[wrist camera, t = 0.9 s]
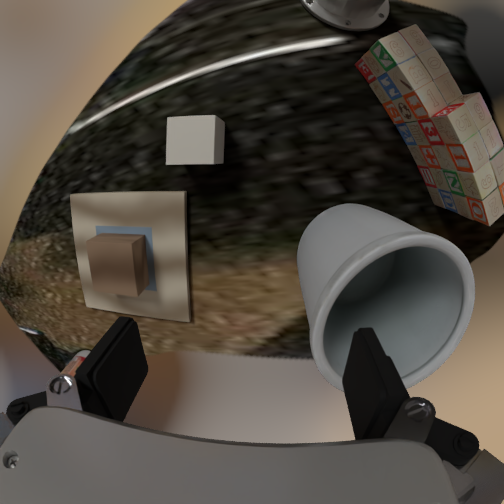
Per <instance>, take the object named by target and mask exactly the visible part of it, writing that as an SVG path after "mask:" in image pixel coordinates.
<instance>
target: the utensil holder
mask: <svg viewBox="0 0 504 504" xmlns="http://www.w3.org/2000/svg"><path fill="white" fill-rule="evenodd" d="M297 266H298V273H299V279H300V285H301V290H302V295H303V299H304V303H305V308H306V312H307V317H308V321H309V325H310V345H311V351H312V355H313V358H314V361H315V364H316V365H317V368H318V370H319V371H320V373H321V375H322V376H323V377H324V378H325V379H326V380H327V381H328V382H329V383H330V384H331V385H333V386H334V387H336V388H337V389H339V390H341V391H343V392H344V389H343V385H342V378H343V374H344V370H345V366H346V362H347V358H348V354H349V350H350V346H351V342H352V338H353V334H354V332H355V331H358V329H359V328H366V327H372V328H373V329H374V331H375V333H376V335H377V337H378V339H379V341H380V343H381V345H382V347H383V349H384V351H385V353H386V355H387V356H390V357H391V359H392V360H393V363H394V365H395V367H396V369H397V371H398V373H399V375H400V377H401V379H402V381H403V383H404V385H405V388H406V389H407V388H410V387H412V386H414V385H415V384H417V383H419V382H421V381H422V380H424V379H425V378H427V377H428V376H429V375H431V374H432V373H433V372H435V371H436V370H437V369H438V368H439V367H440V366H441V365H442V364H443V363H444V362H445V361H446V360H447V359H448V358H449V356H450V355H451V354H452V353H453V351H454V350H455V348H456V347H457V345H458V344H459V342H460V341H461V339H462V337H463V335H464V333H465V331H466V328H467V326H468V324H469V321H470V318H471V315H472V311H473V307H474V300H475V282H474V276H473V272H472V269H471V266H470V264H469V262H468V259H467V258H466V257H465V255H464V254H463V252H462V251H461V250H460V249H459V248H458V247H456V246H455V245H454V244H453V243H451V242H450V241H448V240H446V239H444V238H442V237H440V236H438V235H435V234H432V233H428V232H423V231H421V230H419V229H417V228H415V227H413V226H411V225H409V224H407V223H405V222H403V221H401V220H399V219H397V218H395V217H393V216H391V215H389V214H386V213H384V212H382V211H379V210H376V209H373V208H371V207H368V206H364V205H360V204H342V205H338V206H334V207H332V208H329V209H327V210H325V211H324V212H322V213H321V214H319V215H318V216H317V217H316V218H315V219H314V220H313V221H312V222H311V223H310V224H309V225H308V227H307V228H306V230H305V231H304V233H303V235H302V237H301V240H300V242H299V246H298V252H297Z"/></svg>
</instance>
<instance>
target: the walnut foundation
mask: <svg viewBox="0 0 504 504" xmlns="http://www.w3.org/2000/svg"><path fill="white" fill-rule="evenodd" d="M86 246H87V253H88V260H89V266H90V272H91V278H92V284H93V289H94V291H98V292H104V293H111V294H118V295H126V296H133V297H138V296H139V295H140V294H141V293H142V292H143V291H144V289H145V288H146V287H147V286H148V285H149V275H148V265H147V254H146V241H145V235H142V234H118V233H100V234H98V235H97V236H95V237H93V238H91V239H89V240H87V241H86Z"/></svg>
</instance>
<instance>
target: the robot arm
mask: <svg viewBox="0 0 504 504" xmlns="http://www.w3.org/2000/svg"><path fill="white" fill-rule="evenodd" d="M300 1H301V3H302V5H303V6H304V7H305V8H306V9H307V10H308V11H309V12H310V13H311V14H312V15H313V16H315V17H316V18H318V19H319V20H321V21H322V22H325V23H327V24H329V25H331V26H334V27H337V28H339V29H344V30H348V31H368V30H372V29H374V28H376V27H378V26H380V25H381V24H382V23H383V22H384V21H385V20H386V18H387V16H388V14H389V8H390V7H389V1H388V0H300ZM346 24H347V25H346ZM147 372H148V365H147V361H146V357H145V354H144V350H143V346H142V342H141V338H140V334H139V329H138V325H137V323H136V322H135V321H134V320H133V318H130V317H122V316H121V317H119V318H118V319H117V320H116V321H115V323H114V324H113V325H112V326H111V327H110V329H109V330H108V331H107V332H106V333H105V335H104V336H103V337H102V338H101V340H100V341H99V342H98V343H97V344H96V346H95V347H94V348H93V349H92V351H91V352H90V353H89V354H88V356H87V357H86V358H85V359H84V361H83V362H82V363H81V364H80V366H79V367H78V368H77V370H76V371H75V373H76V374H75V375H74V377H73V376H72V375H69V374H64V373H63V374H58V375H55V376H54V377H52V378H51V379H50V380H49V381H48V383H47V385H46V391H44V392H41V393H37V394H33V395H30V396H26V397H23V398H19V399H16V400H14V401H12V402H11V403H10V405H9V406H8V408H7V412H6V414H4V413H3V412H2V413H0V504H501V503H502V501H503V500H504V464H503V463H502V462H501V461H499V460H498V459H497V458H496V457H494V456H493V455H492V454H490V453H489V452H488V451H487V450H485V449H484V450H483V451H481V450H480V449H479V441H478V439H477V437H476V436H475V435H474V434H473V433H471V432H469V431H466V430H464V429H462V428H459V427H457V426H454V425H452V424H449V423H447V422H445V421H443V420H440V419H438V418H436V417H435V414H436V411H435V407H434V406H433V404H432V403H431V402H430V401H428V400H426V399H424V398H421V397H412V398H410V396H409V394H408V392H407V390H406V388H405V385H404V383H403V381H402V379H401V377H400V375H399V373H398V371H397V369H396V367H395V365H394V363H393V360H392V359H391V357H390V356H387V355H386V353H385V351H384V349H383V347H382V345H381V343H380V341H379V339H378V337H377V335H376V333H375V331H374V329H373V328H372V327H366V328H359V329H358V331H355V332H354V334H353V338H352V342H351V346H350V350H349V354H348V358H347V362H346V366H345V370H344V374H343V378H342V385H343V389H344V393H345V397H346V401H347V405H348V409H349V413H350V418H351V422H352V426H353V431H354V435H355V440H351V441H340V442H324V443H297V444H276V443H274V444H273V443H249V442H235V441H224V440H214V439H205V438H198V437H192V436H185V435H179V434H173V433H168V432H163V431H158V430H153V429H148V428H144V427H140V426H136V425H132V424H128V423H124V422H123V420H124V418H125V416H126V414H127V412H128V410H129V408H130V406H131V404H132V402H133V401H134V398H135V396H136V395H137V393H138V391H139V389H140V387H141V385H142V383H143V381H144V379H145V377H146V375H147Z"/></svg>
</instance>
